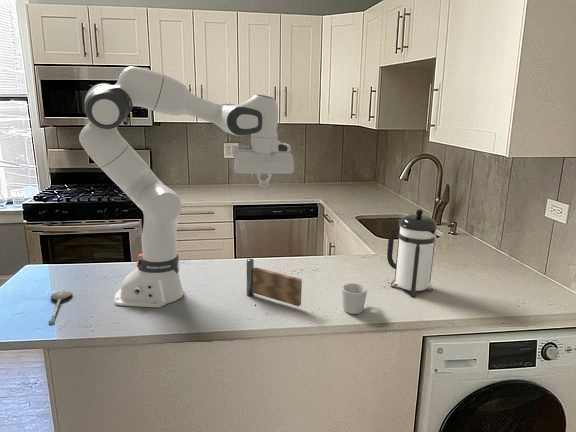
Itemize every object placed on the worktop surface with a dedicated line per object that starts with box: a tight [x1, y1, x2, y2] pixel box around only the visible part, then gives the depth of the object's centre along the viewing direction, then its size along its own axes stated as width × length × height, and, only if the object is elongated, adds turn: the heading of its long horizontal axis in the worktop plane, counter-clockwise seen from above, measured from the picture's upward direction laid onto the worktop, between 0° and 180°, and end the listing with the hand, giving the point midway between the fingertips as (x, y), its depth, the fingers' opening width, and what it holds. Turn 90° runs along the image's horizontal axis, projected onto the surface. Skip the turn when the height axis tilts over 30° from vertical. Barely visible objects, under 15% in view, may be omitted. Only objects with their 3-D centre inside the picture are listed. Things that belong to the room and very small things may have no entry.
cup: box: [341, 282, 368, 315], centre depth 142 cm, size 11×8×8 cm
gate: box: [253, 267, 303, 307], centre depth 145 cm, size 18×2×9 cm, turn 59°
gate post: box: [246, 258, 255, 297], centre depth 150 cm, size 2×2×13 cm
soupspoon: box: [48, 290, 73, 325], centre depth 140 cm, size 22×3×7 cm
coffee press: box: [386, 209, 438, 298], centre depth 157 cm, size 17×16×30 cm
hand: (264, 186), depth 149 cm, fingers closed
